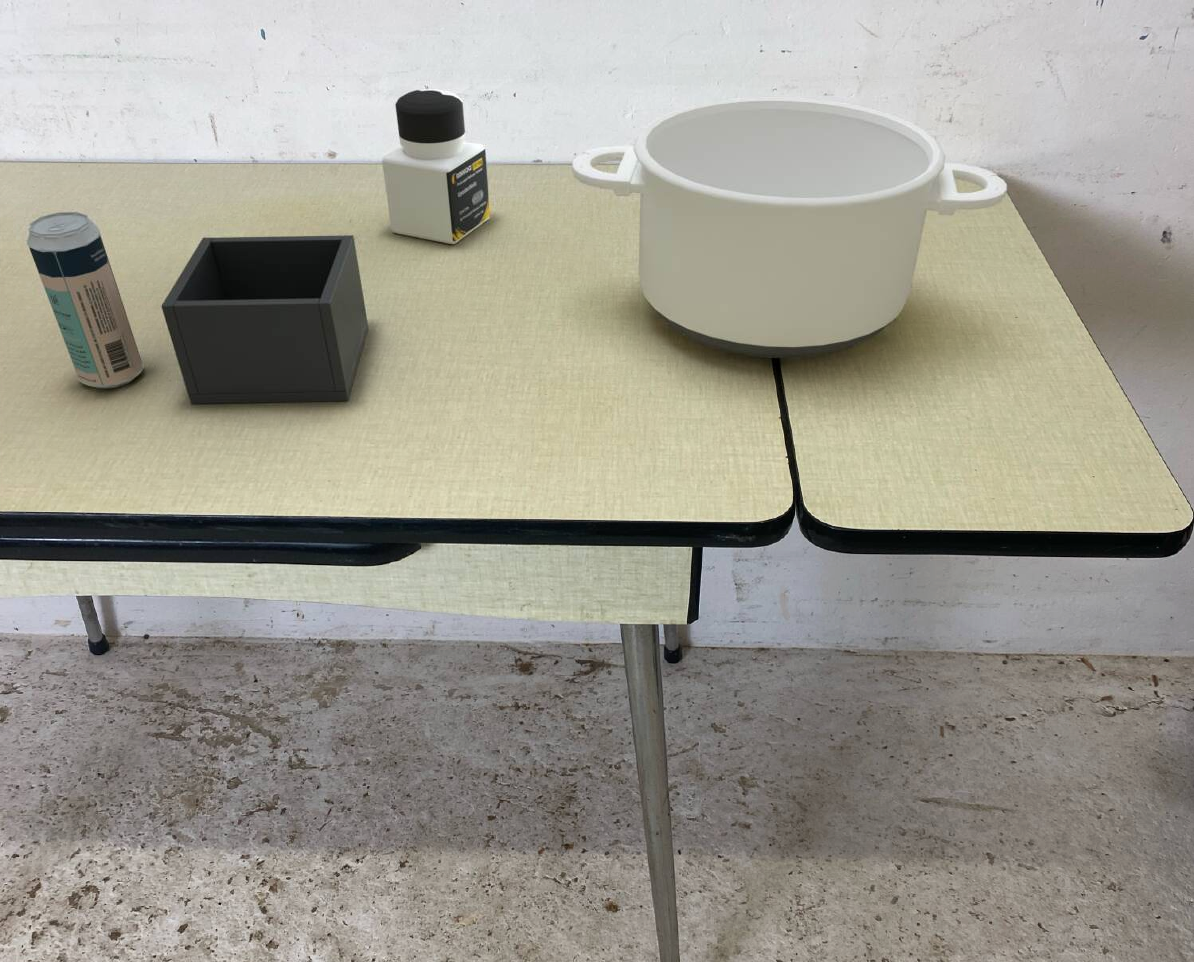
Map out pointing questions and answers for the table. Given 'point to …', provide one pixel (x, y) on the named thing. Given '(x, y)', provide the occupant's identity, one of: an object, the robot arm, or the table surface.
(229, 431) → the table surface
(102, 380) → the beer can
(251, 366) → the bin
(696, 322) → the pot
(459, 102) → the medicine bottle
